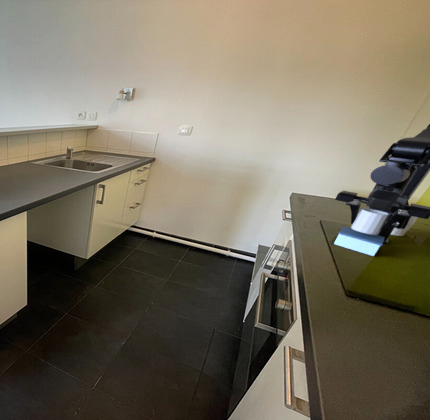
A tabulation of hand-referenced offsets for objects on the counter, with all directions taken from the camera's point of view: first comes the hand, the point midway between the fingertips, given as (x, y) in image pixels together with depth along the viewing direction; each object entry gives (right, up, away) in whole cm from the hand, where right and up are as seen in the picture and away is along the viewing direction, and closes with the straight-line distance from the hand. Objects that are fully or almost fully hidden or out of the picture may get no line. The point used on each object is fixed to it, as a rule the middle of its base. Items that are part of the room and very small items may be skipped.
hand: (365, 227), depth 81 cm
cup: (0, -1, 0) cm, 1 cm away
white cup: (+29, -3, +16) cm, 33 cm away
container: (0, -7, +3) cm, 7 cm away
